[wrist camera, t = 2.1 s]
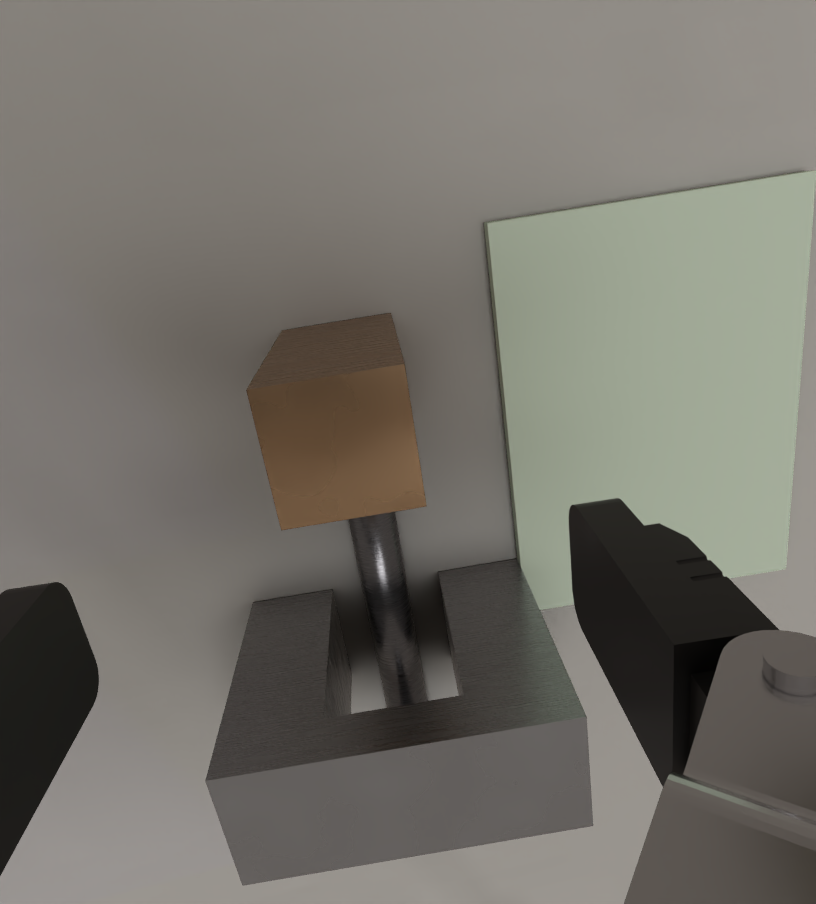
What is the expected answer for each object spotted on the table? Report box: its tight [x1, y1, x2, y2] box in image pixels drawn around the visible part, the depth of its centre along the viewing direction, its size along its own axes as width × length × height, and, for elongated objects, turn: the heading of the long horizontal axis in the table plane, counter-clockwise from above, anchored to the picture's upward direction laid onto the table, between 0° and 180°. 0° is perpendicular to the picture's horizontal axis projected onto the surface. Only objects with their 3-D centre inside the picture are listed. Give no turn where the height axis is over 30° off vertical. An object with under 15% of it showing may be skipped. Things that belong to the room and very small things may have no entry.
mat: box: [484, 170, 816, 610], centre depth 22 cm, size 14×10×1 cm
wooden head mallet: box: [246, 313, 428, 708], centre depth 21 cm, size 17×4×7 cm, turn 8°
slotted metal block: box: [206, 559, 593, 885], centre depth 21 cm, size 4×10×8 cm, turn 98°
